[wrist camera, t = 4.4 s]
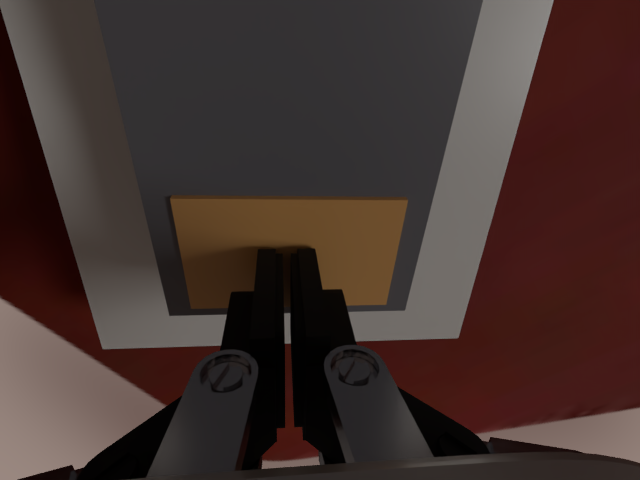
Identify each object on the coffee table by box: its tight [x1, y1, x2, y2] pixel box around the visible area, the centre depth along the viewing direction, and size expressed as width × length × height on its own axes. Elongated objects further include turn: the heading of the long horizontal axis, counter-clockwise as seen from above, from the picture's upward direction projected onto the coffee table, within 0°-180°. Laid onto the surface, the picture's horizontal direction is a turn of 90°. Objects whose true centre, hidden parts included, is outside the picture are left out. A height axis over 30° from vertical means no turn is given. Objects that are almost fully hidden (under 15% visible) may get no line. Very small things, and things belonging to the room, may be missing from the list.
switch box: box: [0, 0, 554, 349], centre depth 13 cm, size 22×16×6 cm
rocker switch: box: [94, 0, 483, 316], centre depth 10 cm, size 14×8×2 cm, turn 178°
